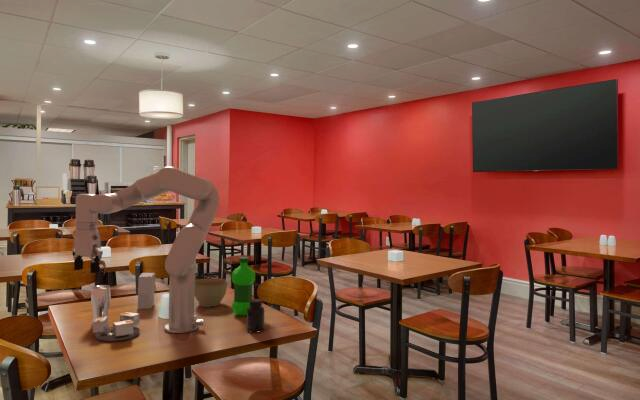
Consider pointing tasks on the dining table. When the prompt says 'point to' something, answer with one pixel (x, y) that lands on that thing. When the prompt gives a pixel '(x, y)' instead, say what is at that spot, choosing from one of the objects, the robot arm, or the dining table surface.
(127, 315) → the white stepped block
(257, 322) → the supplement bottle
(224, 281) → the planter bowl
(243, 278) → the plastic bottle
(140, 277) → the skincare box
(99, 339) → the tribrach plate
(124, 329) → the knob
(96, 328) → the white block
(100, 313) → the beer glass
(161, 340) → the dining table surface
